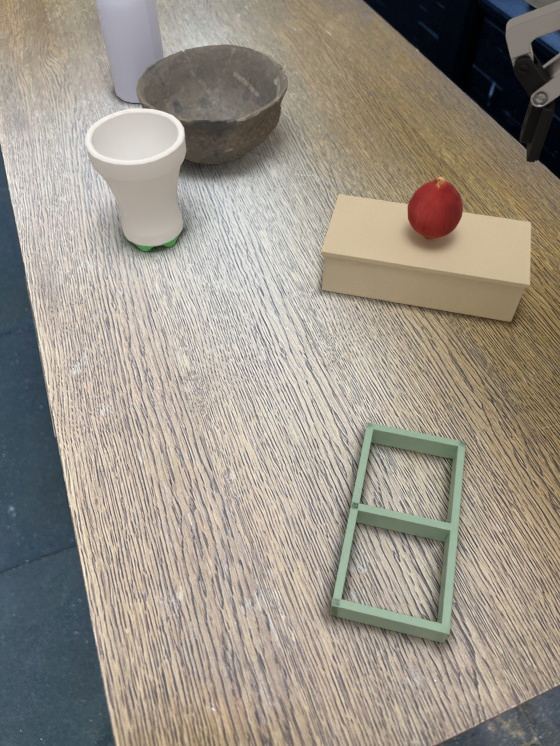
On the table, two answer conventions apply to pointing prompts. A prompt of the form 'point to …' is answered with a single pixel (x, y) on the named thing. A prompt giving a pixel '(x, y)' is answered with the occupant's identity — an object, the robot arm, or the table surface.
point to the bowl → (217, 98)
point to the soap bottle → (130, 41)
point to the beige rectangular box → (427, 259)
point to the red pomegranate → (435, 209)
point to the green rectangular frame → (409, 526)
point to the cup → (141, 171)
